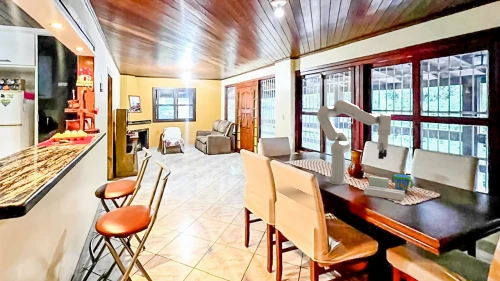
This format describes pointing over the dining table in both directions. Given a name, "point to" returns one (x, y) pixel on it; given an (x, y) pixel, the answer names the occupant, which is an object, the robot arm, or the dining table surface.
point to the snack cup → (402, 182)
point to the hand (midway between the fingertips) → (382, 157)
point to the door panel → (378, 182)
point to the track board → (384, 192)
